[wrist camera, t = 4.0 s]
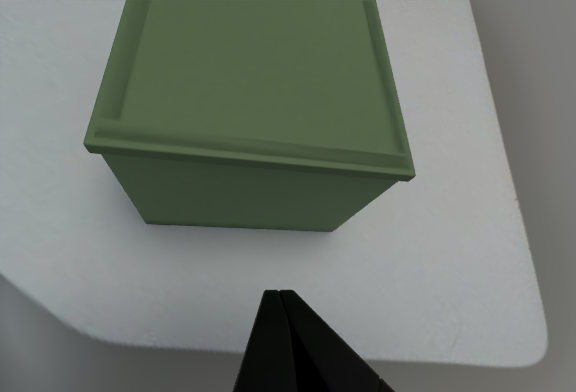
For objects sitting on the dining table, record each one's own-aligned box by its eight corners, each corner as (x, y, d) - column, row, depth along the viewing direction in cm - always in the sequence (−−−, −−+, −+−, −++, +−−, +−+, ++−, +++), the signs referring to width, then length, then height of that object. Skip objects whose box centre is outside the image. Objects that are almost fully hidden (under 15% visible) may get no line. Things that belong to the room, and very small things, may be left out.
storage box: (335, 234, 20) (416, 176, 12) (142, 227, 17) (81, 143, 9) (318, 62, 27) (364, -51, 19) (176, 36, 24) (158, -109, 16)
